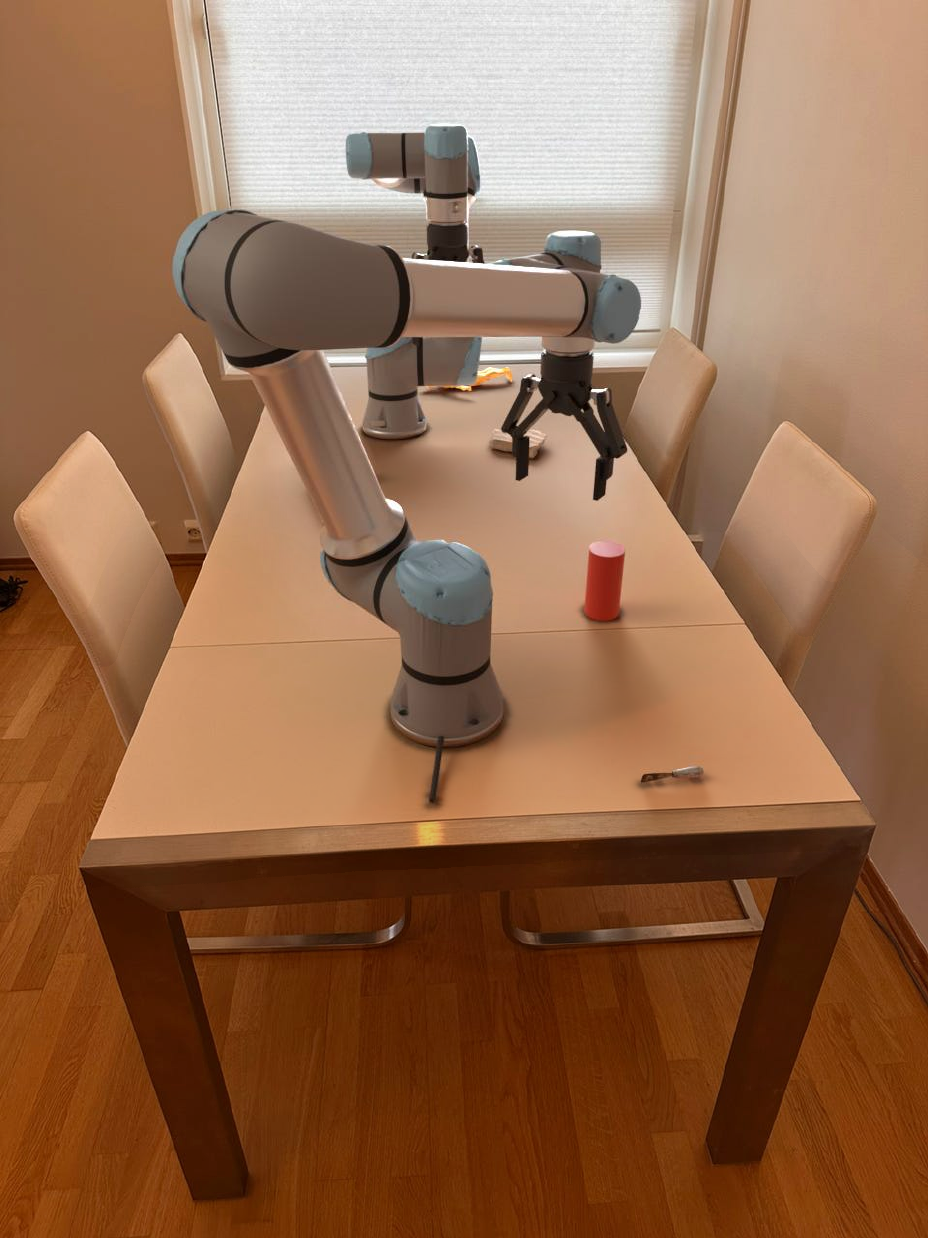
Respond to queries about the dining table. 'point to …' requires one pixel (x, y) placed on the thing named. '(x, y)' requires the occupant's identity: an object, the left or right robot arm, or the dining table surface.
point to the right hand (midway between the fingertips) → (559, 487)
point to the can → (604, 580)
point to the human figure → (485, 377)
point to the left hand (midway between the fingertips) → (448, 339)
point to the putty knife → (674, 774)
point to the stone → (505, 441)
